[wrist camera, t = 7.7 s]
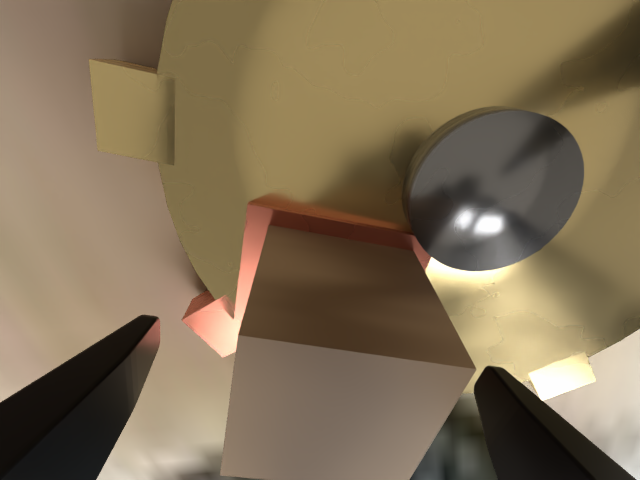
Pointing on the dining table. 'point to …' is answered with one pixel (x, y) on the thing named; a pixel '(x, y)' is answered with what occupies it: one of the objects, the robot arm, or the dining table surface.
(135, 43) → the dining table surface
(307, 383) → the block
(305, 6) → the sprocket
